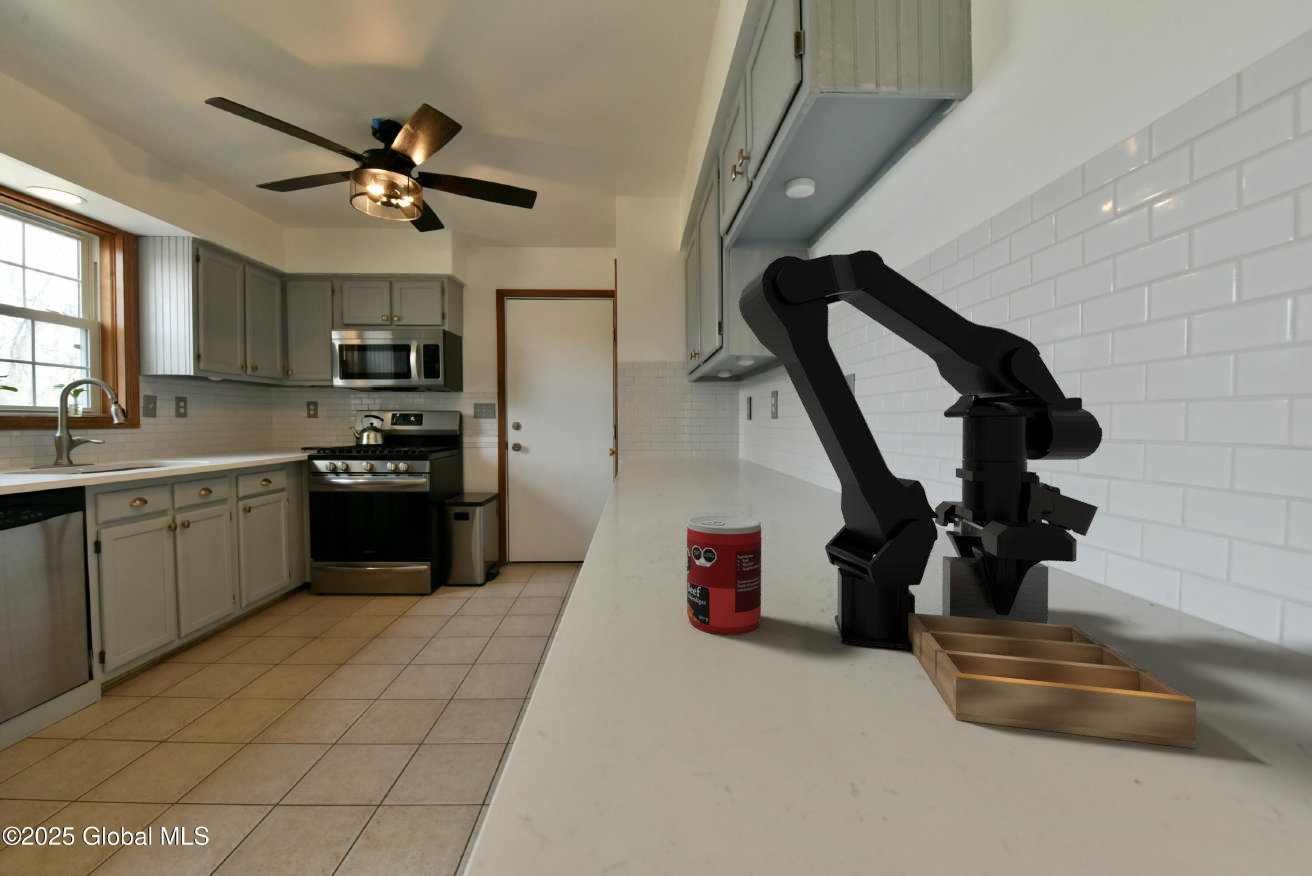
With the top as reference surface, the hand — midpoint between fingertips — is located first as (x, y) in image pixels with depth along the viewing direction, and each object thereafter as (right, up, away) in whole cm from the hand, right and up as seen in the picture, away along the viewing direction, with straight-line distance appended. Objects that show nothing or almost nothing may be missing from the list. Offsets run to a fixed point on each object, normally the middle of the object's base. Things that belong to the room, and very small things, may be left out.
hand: (992, 607), depth 53 cm
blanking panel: (0, -2, 0) cm, 2 cm away
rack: (-6, -2, -12) cm, 14 cm away
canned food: (-28, -2, +1) cm, 29 cm away
